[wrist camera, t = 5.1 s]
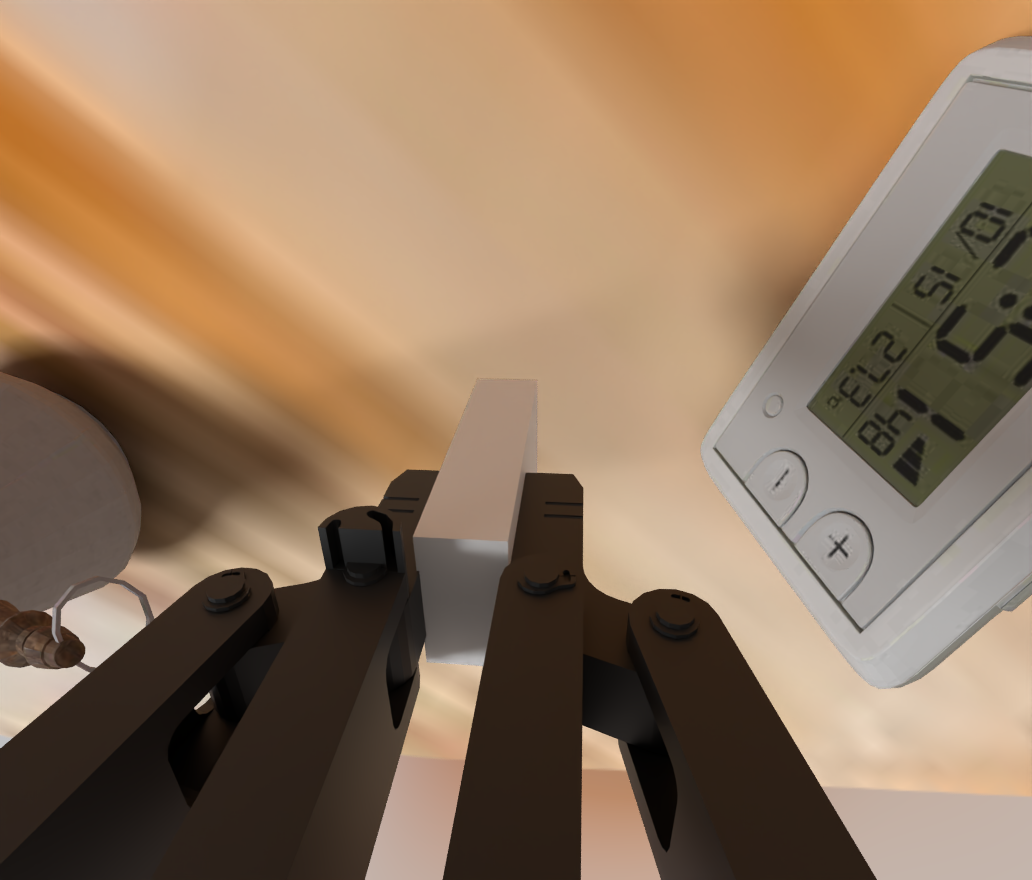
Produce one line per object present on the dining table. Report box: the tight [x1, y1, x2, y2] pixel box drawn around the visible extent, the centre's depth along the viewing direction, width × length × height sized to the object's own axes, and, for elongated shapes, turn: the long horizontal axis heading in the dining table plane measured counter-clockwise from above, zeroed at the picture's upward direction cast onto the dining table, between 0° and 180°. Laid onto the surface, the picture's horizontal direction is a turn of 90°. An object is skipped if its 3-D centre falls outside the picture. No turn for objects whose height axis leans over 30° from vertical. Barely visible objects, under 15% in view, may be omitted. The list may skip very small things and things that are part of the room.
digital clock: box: [700, 36, 1032, 689], centre depth 18 cm, size 16×9×11 cm, turn 145°
